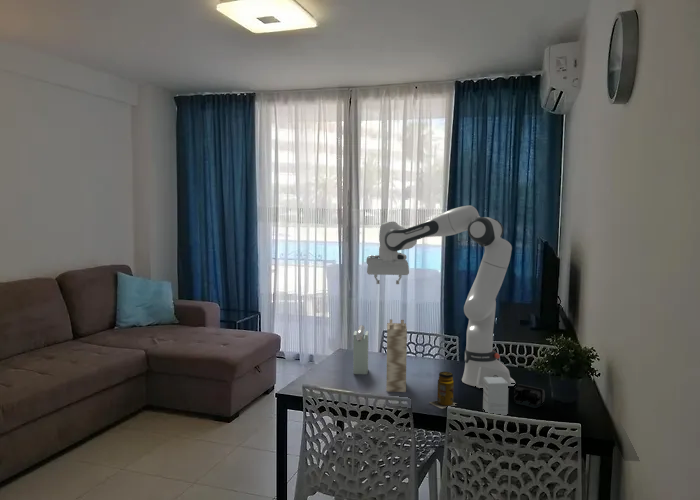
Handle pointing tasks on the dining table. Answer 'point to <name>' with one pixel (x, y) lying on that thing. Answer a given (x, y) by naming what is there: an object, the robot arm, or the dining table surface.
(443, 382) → the condiment
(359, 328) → the axle
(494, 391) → the supplement box
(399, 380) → the block
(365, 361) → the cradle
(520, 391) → the end cap
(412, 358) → the dining table surface
